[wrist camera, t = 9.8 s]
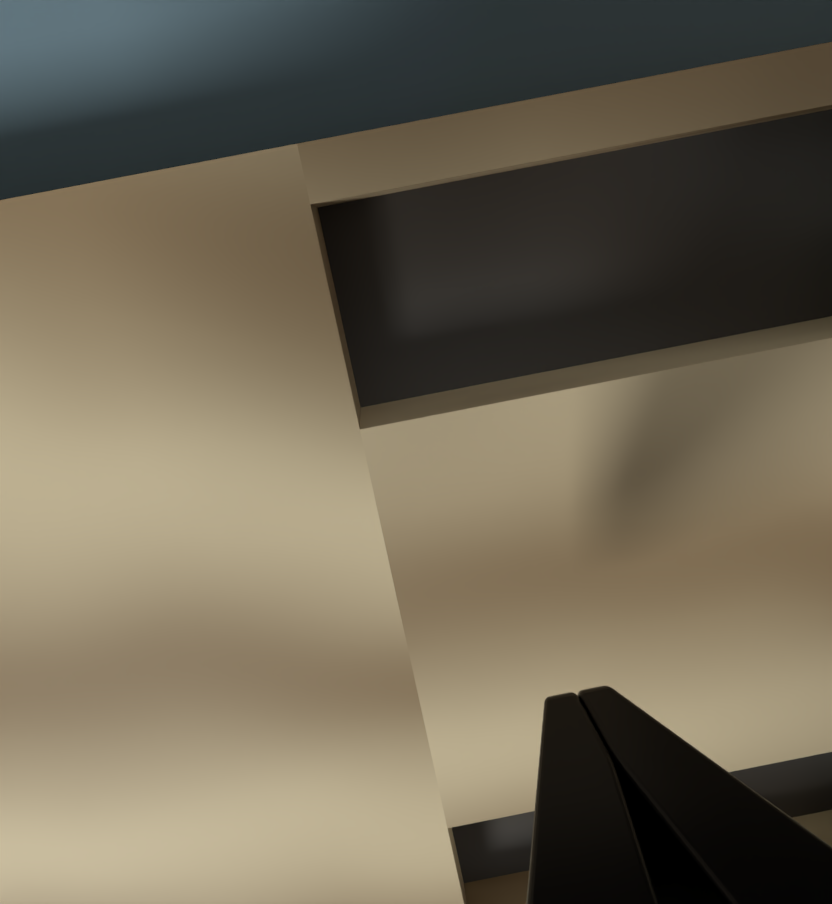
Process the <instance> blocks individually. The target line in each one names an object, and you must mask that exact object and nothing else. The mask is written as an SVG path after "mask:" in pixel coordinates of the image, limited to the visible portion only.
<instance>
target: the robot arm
mask: <svg viewBox="0 0 832 904" xmlns="http://www.w3.org/2000/svg"><path fill="white" fill-rule="evenodd" d="M526 904H832V847H831V846H830V845H829V844H827V843H826V842H824V841H823V840H822V839H820V838H819V837H817V836H816V835H815V834H813V833H812V832H811V831H809V830H808V829H806V828H805V827H804V826H802V825H801V824H799V823H798V822H797V821H795V820H794V819H793V818H791V817H790V816H788V815H787V814H786V813H784V812H783V811H782V810H780V809H779V808H777V807H776V806H775V805H773V804H772V803H770V802H769V801H768V800H766V799H765V798H764V797H762V796H761V795H759V794H758V793H757V792H755V791H754V790H753V789H751V788H750V787H748V786H747V785H746V784H744V783H743V782H741V781H740V780H739V779H737V778H736V777H735V776H733V775H732V774H730V773H729V772H728V771H726V770H725V769H724V768H722V767H721V766H719V765H718V764H717V763H715V762H714V761H712V760H711V759H710V758H708V757H707V756H706V755H704V754H703V753H701V752H700V751H699V750H697V749H696V748H695V747H693V746H692V745H690V744H689V743H688V742H686V741H685V740H683V739H682V738H681V737H679V736H678V735H677V734H675V733H674V732H672V731H671V730H670V729H668V728H667V727H665V726H664V725H663V724H661V723H660V722H659V721H657V720H656V719H654V718H653V717H652V716H650V715H649V714H648V713H646V712H645V711H643V710H642V709H641V708H639V707H638V706H636V705H635V704H634V703H632V702H631V701H630V700H628V699H627V698H625V697H624V696H623V695H621V694H620V693H619V692H617V691H616V690H614V689H613V688H611V687H609V686H599V687H594V688H589V689H584V690H581V691H580V692H579V693H578V695H576V694H575V693H573V692H569V693H564V694H558V695H553V696H549V697H547V698H546V699H545V701H544V710H543V722H542V733H541V744H540V755H539V766H538V777H537V789H536V800H535V811H534V822H533V833H532V844H531V856H530V867H529V878H528V889H527V900H526Z"/></svg>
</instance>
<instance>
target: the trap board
mask: <svg viewBox="0 0 832 904" xmlns="http://www.w3.org/2000/svg"><path fill="white" fill-rule="evenodd" d="M599 686H609V687H611V688H613V689H614V690H616V691H617V692H619V693H620V694H621V695H623V696H624V697H625V698H627V699H628V700H630V701H631V702H632V703H634V704H635V705H636V706H638V707H639V708H641V709H642V710H643V711H645V712H646V713H648V714H649V715H650V716H652V717H653V718H654V719H656V720H657V721H659V722H660V723H661V724H663V725H664V726H665V727H667V728H668V729H670V730H671V731H672V732H674V733H675V734H677V735H678V736H679V737H681V738H682V739H683V740H685V741H686V742H688V743H689V744H690V745H692V746H693V747H695V748H696V749H697V750H699V751H700V752H701V753H703V754H704V755H706V756H707V757H708V758H710V759H711V760H712V761H714V762H715V763H717V764H718V765H719V766H721V767H722V768H724V769H725V770H726V771H728V772H729V773H730V774H732V775H733V776H735V777H736V778H737V779H739V780H740V781H741V782H743V783H744V784H746V785H747V786H748V787H750V788H751V789H753V790H754V791H755V792H757V793H758V794H759V795H761V796H762V797H764V798H765V799H766V800H768V801H769V802H770V803H772V804H773V805H775V806H776V807H777V808H779V809H780V810H782V811H783V812H784V813H786V814H787V815H788V816H790V817H791V818H793V819H794V820H795V821H797V822H798V823H799V824H801V825H802V826H804V827H805V828H806V829H808V830H809V831H811V832H812V833H813V834H815V835H816V836H817V837H819V838H820V839H822V840H823V841H824V842H826V843H827V844H829V845H830V846H831V847H832V42H828V43H823V44H817V45H812V46H807V47H802V48H796V49H791V50H786V51H781V52H775V53H770V54H765V55H760V56H754V57H749V58H744V59H739V60H733V61H728V62H723V63H718V64H712V65H707V66H702V67H697V68H691V69H686V70H681V71H676V72H670V73H665V74H660V75H655V76H649V77H644V78H639V79H634V80H628V81H623V82H618V83H613V84H607V85H602V86H597V87H592V88H586V89H581V90H576V91H571V92H565V93H560V94H555V95H550V96H544V97H539V98H534V99H529V100H523V101H518V102H513V103H508V104H502V105H497V106H492V107H487V108H481V109H476V110H471V111H466V112H460V113H455V114H450V115H445V116H439V117H434V118H429V119H424V120H418V121H413V122H408V123H403V124H397V125H392V126H387V127H382V128H376V129H371V130H366V131H361V132H355V133H350V134H345V135H340V136H334V137H329V138H324V139H319V140H313V141H308V142H303V143H298V144H292V145H287V146H282V147H277V148H271V149H266V150H261V151H256V152H250V153H245V154H240V155H235V156H229V157H224V158H219V159H214V160H208V161H203V162H198V163H193V164H188V165H182V166H177V167H172V168H167V169H161V170H156V171H151V172H146V173H140V174H135V175H130V176H125V177H119V178H114V179H109V180H104V181H98V182H93V183H88V184H83V185H77V186H72V187H67V188H62V189H56V190H51V191H46V192H41V193H35V194H30V195H25V196H20V197H14V198H9V199H4V200H0V904H526V900H527V889H528V878H529V867H530V856H531V844H532V833H533V822H534V811H535V800H536V789H537V777H538V766H539V755H540V744H541V733H542V722H543V710H544V701H545V699H546V698H547V697H549V696H553V695H558V694H564V693H569V692H573V693H575V694H576V695H578V693H579V692H580V691H581V690H584V689H589V688H594V687H599Z"/></svg>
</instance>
